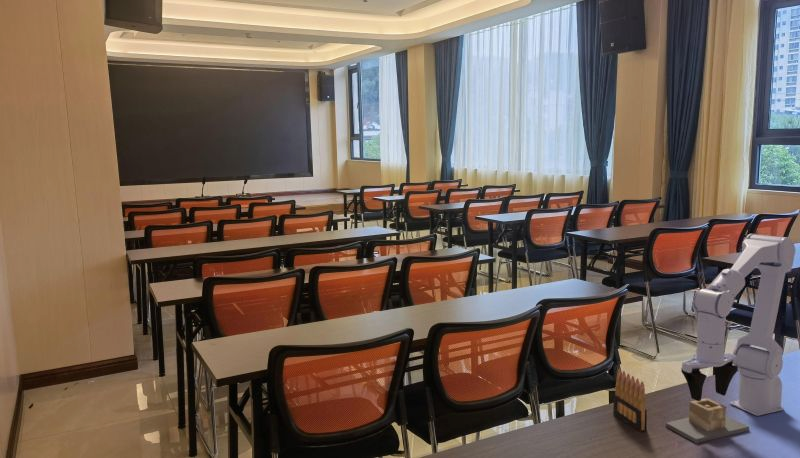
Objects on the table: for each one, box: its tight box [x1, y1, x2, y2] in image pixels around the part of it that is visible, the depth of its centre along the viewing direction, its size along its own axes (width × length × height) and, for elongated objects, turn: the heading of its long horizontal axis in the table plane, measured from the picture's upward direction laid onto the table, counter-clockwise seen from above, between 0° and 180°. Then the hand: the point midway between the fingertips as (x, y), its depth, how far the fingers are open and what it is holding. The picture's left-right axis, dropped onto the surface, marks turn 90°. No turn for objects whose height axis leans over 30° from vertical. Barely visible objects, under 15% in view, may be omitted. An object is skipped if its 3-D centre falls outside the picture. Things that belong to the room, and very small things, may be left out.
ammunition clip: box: [612, 368, 648, 432], centre depth 145 cm, size 11×2×12 cm, turn 15°
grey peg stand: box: [665, 405, 750, 444], centre depth 141 cm, size 16×9×6 cm, turn 110°
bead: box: [688, 397, 727, 431], centre depth 141 cm, size 5×5×5 cm
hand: (708, 396), depth 140 cm, fingers open, 7 cm apart
